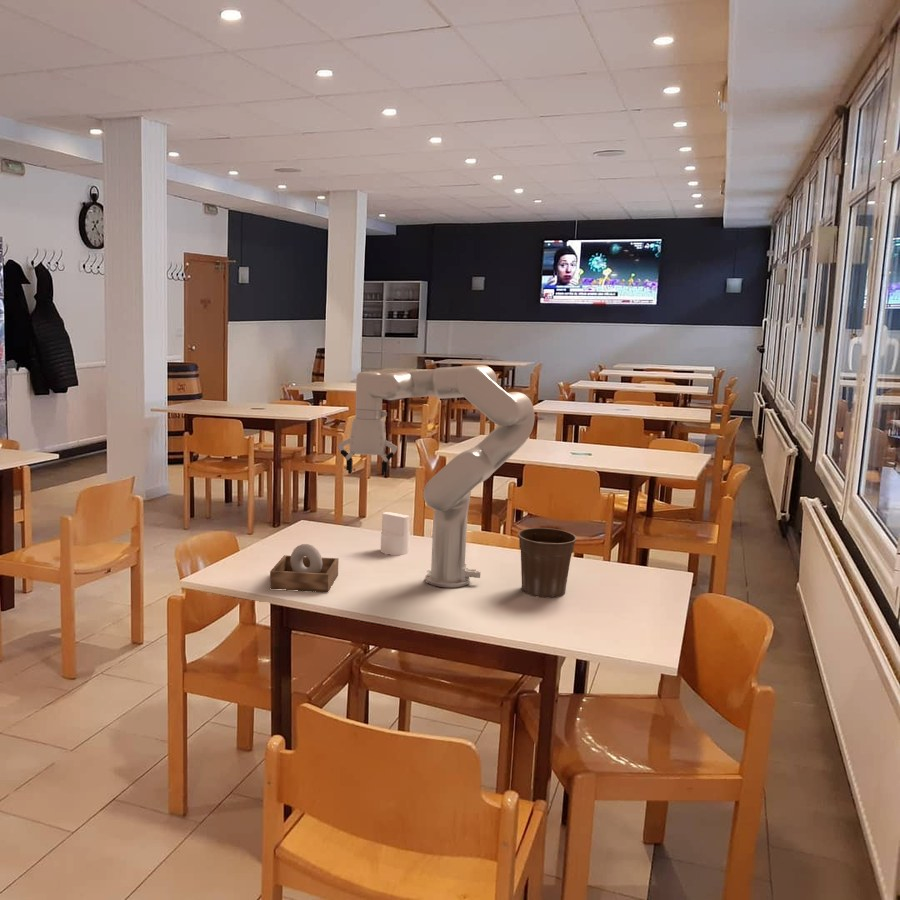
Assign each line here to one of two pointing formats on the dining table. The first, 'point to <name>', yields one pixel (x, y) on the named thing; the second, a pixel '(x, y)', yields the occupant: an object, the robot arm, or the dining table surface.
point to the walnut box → (304, 576)
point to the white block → (395, 533)
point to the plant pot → (545, 560)
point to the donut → (312, 556)
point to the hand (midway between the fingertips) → (366, 473)
